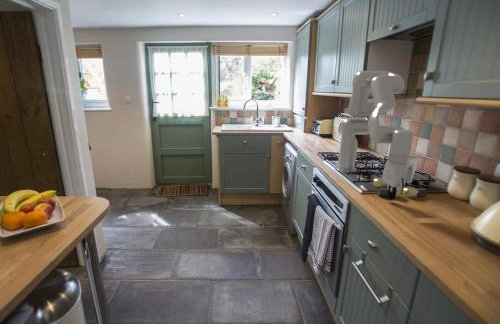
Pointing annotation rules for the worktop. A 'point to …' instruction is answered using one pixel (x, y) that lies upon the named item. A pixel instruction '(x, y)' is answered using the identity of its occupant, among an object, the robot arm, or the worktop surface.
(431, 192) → the worktop surface
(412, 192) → the knob
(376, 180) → the knob left
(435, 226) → the worktop surface
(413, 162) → the beer glass
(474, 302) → the worktop surface
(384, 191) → the knob
